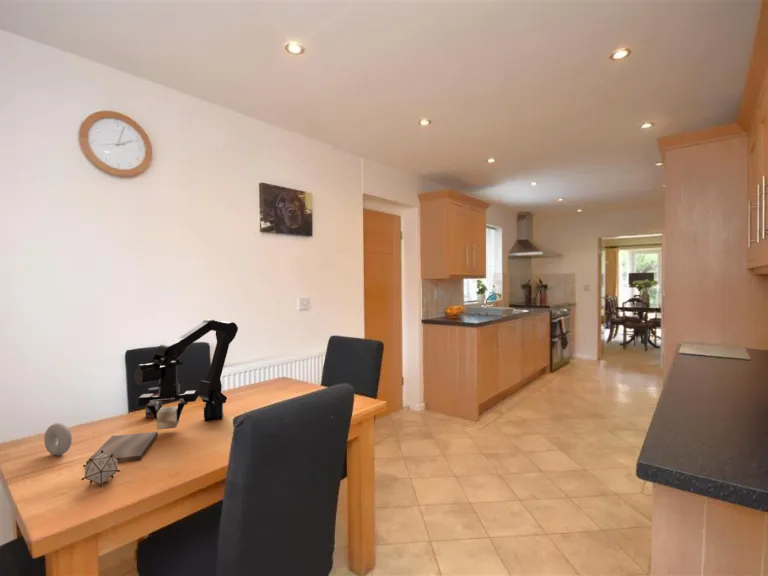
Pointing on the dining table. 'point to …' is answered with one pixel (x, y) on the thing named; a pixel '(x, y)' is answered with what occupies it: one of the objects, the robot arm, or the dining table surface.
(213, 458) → the dining table surface
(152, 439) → the walnut board
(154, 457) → the dining table surface
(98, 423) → the dining table surface
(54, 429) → the donut
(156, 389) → the supplement bottle
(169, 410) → the maple cube
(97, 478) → the game die
